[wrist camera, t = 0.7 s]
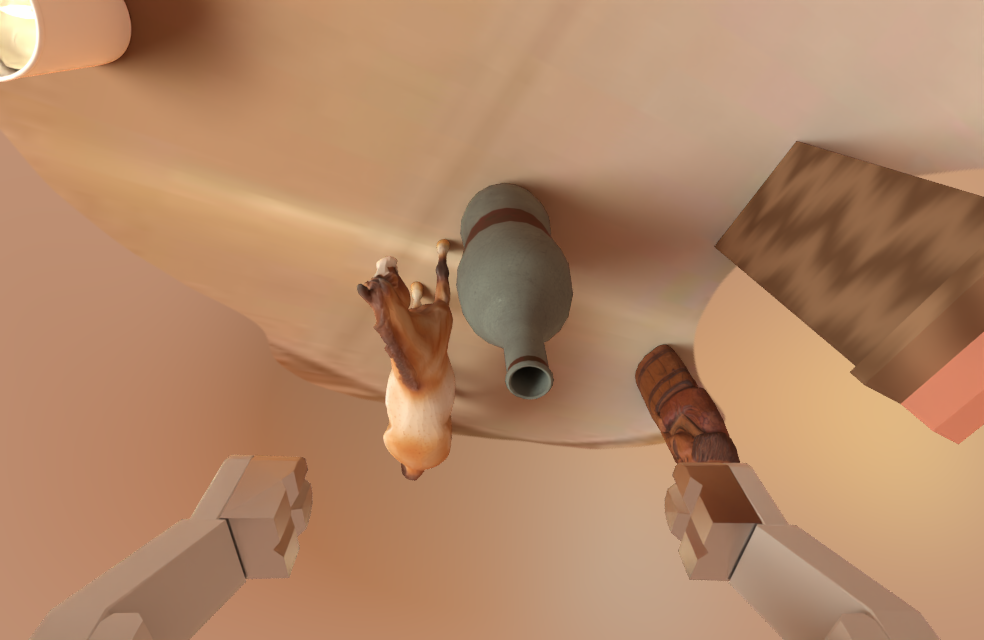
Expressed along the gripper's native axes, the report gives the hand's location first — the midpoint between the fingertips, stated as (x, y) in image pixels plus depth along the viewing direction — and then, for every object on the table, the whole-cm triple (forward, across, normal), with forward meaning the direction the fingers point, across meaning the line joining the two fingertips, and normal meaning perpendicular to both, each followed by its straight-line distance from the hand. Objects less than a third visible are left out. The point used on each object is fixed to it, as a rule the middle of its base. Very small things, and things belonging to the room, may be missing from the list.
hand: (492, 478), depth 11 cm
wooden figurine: (+45, -25, +30) cm, 59 cm away
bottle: (+45, -3, +9) cm, 46 cm away
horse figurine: (+45, +8, +23) cm, 51 cm away
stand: (+45, -34, +7) cm, 57 cm away
